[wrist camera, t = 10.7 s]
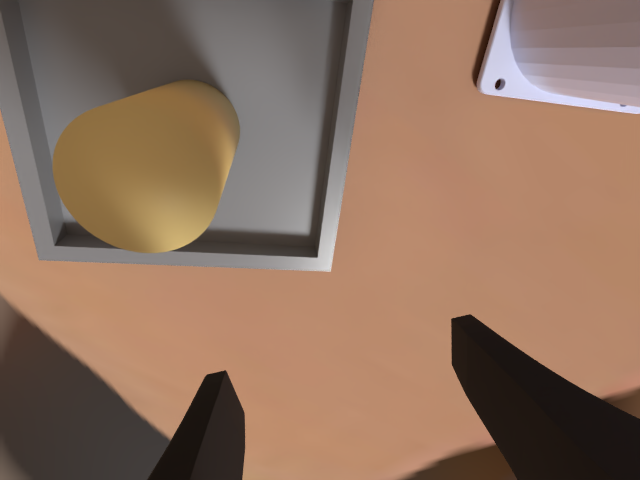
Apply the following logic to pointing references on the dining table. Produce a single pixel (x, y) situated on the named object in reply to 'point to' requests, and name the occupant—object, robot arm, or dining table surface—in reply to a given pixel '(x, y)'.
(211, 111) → the pin
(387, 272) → the dining table surface
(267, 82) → the tray
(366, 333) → the dining table surface
